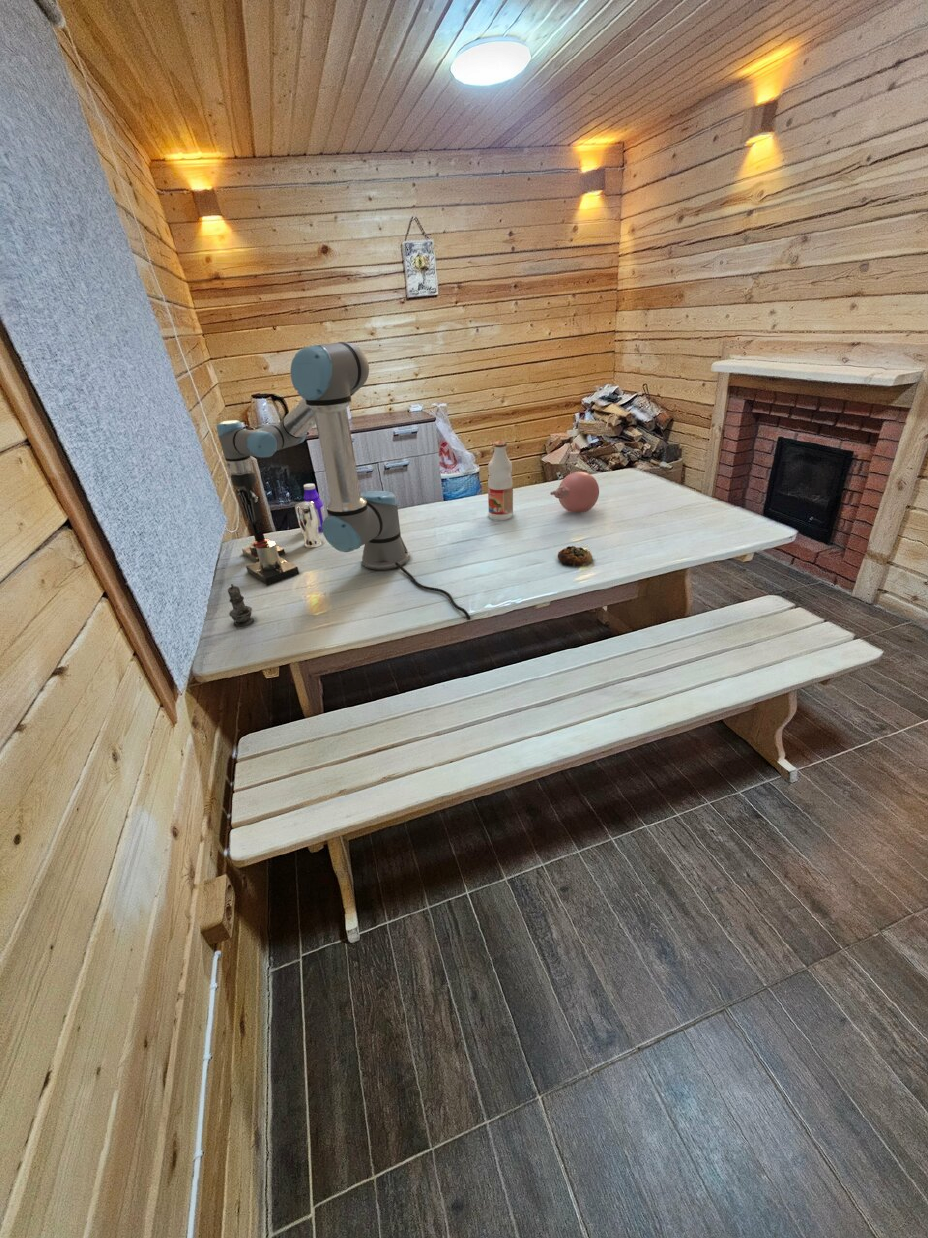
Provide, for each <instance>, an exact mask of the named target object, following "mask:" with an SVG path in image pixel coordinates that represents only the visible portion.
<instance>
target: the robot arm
mask: <svg viewBox="0 0 928 1238" xmlns="http://www.w3.org/2000/svg"><path fill="white" fill-rule="evenodd" d="M289 372H290V373H289V374H290V380H291V384H292V386H293V388H294V390H295V391H297V395H299V397H301V398H302V399H301V400H300V401H298V403H297V404H295V406H294V407H293V408H292V409H291V410H290V411H289V412H288V413H287V414H286V415H285V416H284V418H282V419H281V420H280V422H278V423H274V424H271V425H267V426H264V427H259V428H256V429H244V426H243V424H242V422H241V421H240V420H237V419H236V420H235V419H232V420H224V421H220V422H218V423H217V424H216V431H217V438H218V439H219V443H220V446H221V450H222V453H223V456H224V459H225V463H226V464H225V468H227V470H228V473H229V478H230V482H231V484H232V486H233V487H235V488H238V489H237V490H235V491H236V492H235V493H236V494H237V496H238V499H239V502H240V504H241V507H242V509H243V513H244V515H245V518H246V520H248V522H249V523H250V527H251V529H252V534H253V537H254V540H255V541H257V542H259V541H262V540H265V538H266V537H265V534H264V531H263V527H262V524H261V523H262V522H264V519H263V514H262V508H261V497H260V495H256V494H257V493H256V489H255V488H254V485H255V484H256V483H257V477H256V473H255V471H254V464H253V460H252V458H251V457H256V458H259V459H261V458H262V459H263V458H270V457H273V455H274V454H275V453H276V452H277V451H280V450H283V449H284V450H285V449H286V448H291V447H295V446H297V445H299V444H301V443H304V441H305V440H306V437H307V433H308V432H310V430H312V429H313V427H315V426H316V431H317V436H318V441H319V446H320V452H321V457H322V463H323V468H324V473H325V478H326V484H327V490H328V494H329V501H328V502H327V504H326V512H327V517H326V516H325V519H324V521H323V523H322V531H321V532H322V535H323V537H324V538H325V540H326V542H328V544H330V546H331V547H333V549H335V550H337V551H339V552H341V553H350V552H353V551H354V550H358V549H360V548H361V547H362V546H363V551H362V552H363V553H362V556H361V559H362V564H363V566H364V567H365V568H367V569H369V570H373V571H390V570H394V569H397V568H398V569H400V570H401V571H402V572H403V573H404V574H405V575H406V576H408V577H409V579H410V580H411V581H412V582H413V583H414V584H415V586H417V587H419V588H420V589H424V590H427V591H433V592H439V593H442V594H443V595H445V596H447V598H448V599H449V601H450V603H451V605H452V606H453V607H454V608H455V609H457V610H458V611H461V612H462V613H463V614H464V616H465V618H466V619H467V620H468V621H470V620H472V618H471V616H470V614H469V613H468V612H467V610H466V609H465V608H463V607H461V606H459V605H458V604H457V603H456V602H455V600H454V598H453V597H452V595H451V594H450V593H449V592H447V590H445V589H442V588H437V587H433V586H432V587H431V586H426V585H423V584H422V583H420V582H418V581H417V580H416V578H415V577H414V576H413V575H412V574H411V573H410V572H409V571H408V570H407V569H406V568H404V567H403V566H404V565H406V564H407V563H408V562H409V560H410V554H409V550H408V549H407V547H406V544H405V542H404V540H403V538H402V534H401V526H400V517H399V508H398V506H399V505H398V502H397V497H396V494H394V492H391V491H388V490H387V491H386V490H367V491H362V492H361V490H360V483H359V477H358V471H357V465H356V459H355V451H354V445H353V440H352V439H353V438H352V432H351V426H350V420H349V414H348V407H349V406H350V404H351V403H352V396H354V395H355V394H356V393H357V392H358V391H359V390H360V389H362V388H363V386H364V385H365V384H366V382H367V380H368V378H369V374H370V365H369V360H368V358H367V355H366V354H365V353H364V352H363V350H362V349H361V348H360V347H359V346H357V345H355V344H354V343H351V342H348V341H339V342H338V341H337V342H333V343H325V344H314V345H310V346H306V347H303V348H301V349H299V350H298V351H297V352H296V353H295V354H294V357H293V358H292V360H291V363H290V371H289Z"/></svg>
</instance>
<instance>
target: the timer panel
mask: <svg viewBox="0 0 928 1238" xmlns="http://www.w3.org/2000/svg"><path fill="white" fill-rule="evenodd" d="M279 559H280V563H281V566H280V567H278V568H276V569H273V570H263V569H262V567H261V564H260V561H259V562H253V563H251V564H248V565H245V567H246V571H247V574H249V575H250V576H252V577H253V578H255V579H256V580H258V581H259V582H260V583H262V584H263V585H265V586H266V587H267V586H271V585H273V584H276V583H278V582H281V581H285V580H286V579H290V578H292V577H294V576H297V575H299V574H300V571H299V568H298V566H297V565H295V564H293V563H291V562H290V561H288V560H286V559H285V558H283V557H282V556H279Z"/></svg>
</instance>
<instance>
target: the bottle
mask: <svg viewBox="0 0 928 1238" xmlns="http://www.w3.org/2000/svg"><path fill="white" fill-rule="evenodd" d="M303 491H304V493H303V500H304V501H303V502H306V501H311V502H314V505H315V508H316V512H317V516H318V532H323V531H322V523H323V521H324V519H325V518H326V515H325V507H324V503H323V501H322V500H321V499H320V494H319V493H318V491H317V488H316V485H315V483H305V484H303Z"/></svg>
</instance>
